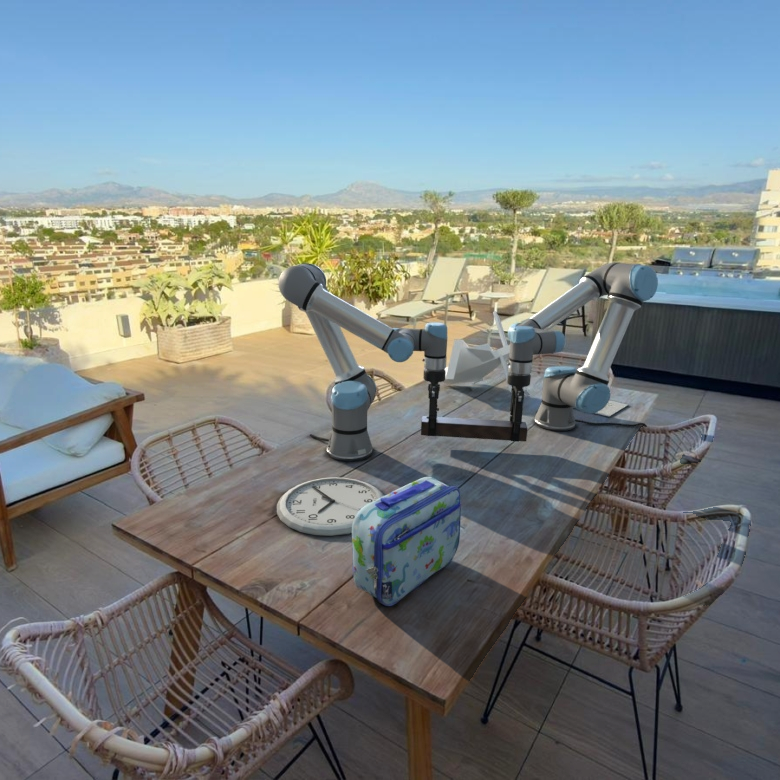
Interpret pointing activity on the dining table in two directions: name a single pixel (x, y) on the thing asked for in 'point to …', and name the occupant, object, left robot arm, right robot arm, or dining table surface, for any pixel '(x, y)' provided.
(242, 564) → the dining table surface
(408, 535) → the lunch box
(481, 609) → the dining table surface
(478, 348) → the white plastic object
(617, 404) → the invitation card
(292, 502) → the wall clock
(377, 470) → the dining table surface
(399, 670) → the dining table surface
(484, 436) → the plank
